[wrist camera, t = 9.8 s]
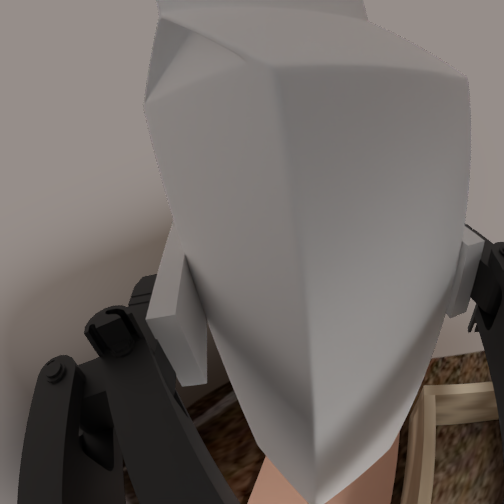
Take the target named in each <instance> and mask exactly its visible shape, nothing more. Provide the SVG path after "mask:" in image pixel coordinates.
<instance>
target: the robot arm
mask: <svg viewBox="0 0 504 504" xmlns="http://www.w3.org/2000/svg"><path fill="white" fill-rule="evenodd" d="M470 297H471V298H472V299H473V300H474V301H475V302H476V306H475V309H474V312H473V315H472V318H471V321H470V323H469V326H468V332H471V330H472V328H473V325H474V323H477V325H476V328H475V332H479V333H480V336H481V339H482V343H483V346H484V350H485V354H486V358H487V362H488V366H489V370H490V374H491V379H492V383H493V388H494V393H495V398H496V404H497V409H498V416H499V423H500V430H501V438H502V448H503V461H504V242H497V243H495V244H493V243H491V242H490V241H489V240H487V239H486V238H485V237H483V236H482V235H481V234H479V233H478V232H477V231H475V230H474V229H473V230H472V228H471V227H470V226H468V225H466V224H465V225H464V232H463V238H462V244H461V250H460V255H459V260H458V265H457V270H456V274H455V279H454V283H453V287H452V291H451V295H450V299H449V303H448V307H447V310H446V314H447V315H448V316H449V318H452V317H455V316H457V315H459V314H462V313H464V312H466V310H467V307H468V304H469V301H470ZM128 305H129V307H125V306H111V307H108V308H105V309H103V310H102V311H100V312H98V313H96V314H95V315H94V316H93V317H92V318H91V319H90V320H89V322H88V323H87V325H86V326H85V331H84V334H85V336H86V337H87V339H88V340H89V342H90V343H91V345H92V346H93V348H94V349H95V351H96V352H97V354H98V355H99V357H98V358H96V359H94V360H91V361H88V362H86V363H83V364H81V365H77V364H76V363H75V361H74V360H73V358H72V357H69V356H67V355H61V356H58V357H55V358H53V359H51V360H50V361H48V362H47V363H46V364H45V366H44V367H43V368H42V369H41V371H40V374H39V376H38V379H37V383H36V387H35V391H34V395H33V399H32V403H31V408H30V413H29V417H28V422H27V428H26V433H25V438H24V445H23V452H22V458H21V466H20V475H19V486H18V501H17V504H126V501H125V490H124V478H123V461H122V455H123V458H124V461H125V464H126V468H127V471H128V474H129V476H130V479H131V482H132V485H133V488H134V490H135V493H136V496H137V498H138V501H139V503H140V504H240V502H239V501H238V499H237V498H236V496H235V495H234V493H233V492H232V490H231V488H230V487H229V485H228V484H227V482H226V480H225V479H224V477H223V475H222V474H221V472H220V470H219V469H218V467H217V465H216V464H215V462H214V460H213V458H212V457H211V455H210V453H209V451H208V450H207V448H206V446H205V444H204V442H203V441H202V439H201V437H200V435H199V433H198V431H197V429H196V427H195V426H194V424H193V422H192V420H191V418H190V416H189V414H188V412H187V410H186V408H185V406H184V404H183V402H182V400H181V398H180V396H179V394H178V393H177V391H176V390H175V383H176V377H177V378H178V380H179V382H180V383H181V385H182V387H183V386H192V385H199V384H207V318H206V315H205V312H204V309H203V307H202V304H201V301H200V298H199V295H198V292H197V289H196V286H195V284H194V281H193V278H192V275H191V272H190V269H189V266H188V263H187V260H186V256H185V254H184V252H183V249H182V246H181V243H180V240H179V236H178V233H177V230H176V227H175V224H174V220H173V223H172V226H171V229H170V232H169V236H168V239H167V242H166V246H165V249H164V252H163V256H162V259H161V263H160V267H159V270H158V274H155V275H150V276H145V277H142V279H141V280H140V281H139V282H138V283H137V284H136V286H135V287H134V290H133V293H132V296H131V299H130V301H129V304H128ZM502 504H504V500H503V503H502Z"/></svg>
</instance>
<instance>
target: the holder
mask: <svg viewBox="0 0 504 504" xmlns="http://www.w3.org/2000/svg"><path fill="white" fill-rule="evenodd" d="M497 419H499V416H498V409H497V404H496V398H495V393H494V388H493V383H492V382H482V383H470V384H453V385H424V386H423V389H422V391H421V393H420V396H419V398H418V400H417V402H416V404H415V407H414V409H413V411H412V413H411V415H410V417H409V431H408V445H407V456H406V466H405V474H404V482H403V489H402V496H401V502H400V504H431V497H432V488H433V478H434V464H435V442H436V425H451V424H463V423H473V422H482V421H490V420H497Z"/></svg>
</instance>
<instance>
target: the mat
mask: <svg viewBox="0 0 504 504" xmlns="http://www.w3.org/2000/svg"><path fill="white" fill-rule="evenodd" d="M399 436H400V431H399V433H398V435H397V437H396V439H395V441H394V442H393V444H392V446H391V448H390V449H389V450H388V451H387V452H386V453H385V454H384V455H383V456H382V457H381V458H380V459H378V460H377V461H376V462H375V463H374V464H373V465H372V466H371V467H370V468H368V469H367V470H366V471H365V472H364V473H363V474H362V475H360V476H359V477H358V478H357V479H356V480H354V481H353V482H352V483H351V484H350V485H348V486H347V487H346V488H344V489H343V490H342V491H341V492H339V493H338V494H337V495H335V496H334V497H333V498H331V499H330V500H329V501H327V502H326V503H325V504H390V503H391V498H392V492H393V486H394V479H395V472H396V465H397V456H398V447H399ZM247 504H309V503H308V502H307V501H306V500H305V499H304V498H303V497H302V496H301V495H300V494H299V493H298V491H297V490H296V489H295V488H294V487H293V486H292V485H291V484H290V483H289V482H288V480H287V479H286V478H285V477H284V476H283V475H282V474H281V473H280V471H279V470H278V469H277V468H276V467H275V466H274V464H273V463H272V462H271V461H270V460H269V458H268V457H267V456H265V459H264V462H263V465H262V467H261V470H260V473H259V475H258V478H257V480H256V483H255V486H254V488H253V491H252V493H251V496H250V498H249V501H248V503H247Z"/></svg>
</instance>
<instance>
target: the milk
mask: <svg viewBox="0 0 504 504" xmlns="http://www.w3.org/2000/svg"><path fill="white" fill-rule="evenodd" d="M156 2H157V8H158V15H159V19H158V23H157V28H156V33H155V38H154V43H153V48H152V53H151V59H150V64H149V71H148V77H147V83H146V90H145V97H144V113H145V117H146V122H147V126H148V129H149V134H150V138H151V142H152V146H153V149H154V153H155V157H156V161H157V165H158V168H159V172H160V176H161V179H162V183H163V186H164V190H165V193H166V197H167V200H168V204H169V207H170V210H171V214H172V217H173V220H174V224H175V227H176V230H177V233H178V236H179V240H180V243H181V246H182V249H183V252H184V254H185V256H186V260H187V263H188V266H189V269H190V272H191V275H192V278H193V281H194V284H195V286H196V289H197V292H198V295H199V298H200V301H201V304H202V307H203V309H204V312H205V315H206V318H207V322H208V325H209V327H210V330H211V333H212V335H213V338H214V341H215V343H216V346H217V349H218V351H219V354H220V356H221V359H222V361H223V364H224V366H225V369H226V372H227V374H228V377H229V379H230V382H231V384H232V387H233V389H234V391H235V394H236V396H237V399H238V401H239V403H240V406H241V408H242V410H243V413H244V415H245V417H246V420H247V422H248V424H249V427H250V429H251V431H252V433H253V436H254V438H255V440H256V442H257V445H258V446H259V448H260V449H261V450H262V451H263V452H264V454H265V455H266V456H267V457H268V458H269V460H270V461H271V462H272V463H273V464H274V466H275V467H276V468H277V469H278V470H279V471H280V473H281V474H282V475H283V476H284V477H285V478H286V479H287V480H288V482H289V483H290V484H291V485H292V486H293V487H294V488H295V489H296V490H297V491H298V493H299V494H300V495H301V496H302V497H303V498H304V499H305V500H306V501H307V502H308V503H309V504H325V503H326V502H327V501H329V500H330V499H331V498H333V497H334V496H335V495H337V494H338V493H339V492H341V491H342V490H343V489H344V488H346V487H347V486H348V485H350V484H351V483H352V482H353V481H354V480H356V479H357V478H358V477H359V476H360V475H362V474H363V473H364V472H365V471H366V470H367V469H368V468H370V467H371V466H372V465H373V464H374V463H375V462H376V461H377V460H378V459H380V458H381V457H382V456H383V455H384V454H385V453H386V452H387V451H388V450H389V449H390V448H391V446H392V444H393V442H394V441H395V439H396V437H397V435H398V433H399V431H400V429H401V427H402V425H403V423H404V421H405V419H406V417H407V415H408V413H409V410H410V408H411V406H412V404H413V402H414V399H415V397H416V395H417V393H418V390H419V388H420V385H421V383H422V381H423V378H424V376H425V373H426V370H427V368H428V365H429V363H430V360H431V357H432V354H433V352H434V349H435V345H436V343H437V340H438V336H439V334H440V330H441V327H442V324H443V321H444V317H445V314H446V310H447V307H448V303H449V299H450V295H451V291H452V287H453V283H454V279H455V274H456V270H457V265H458V260H459V255H460V250H461V244H462V238H463V232H464V225H465V218H466V209H467V201H468V190H469V178H470V160H471V112H470V94H469V84H468V79H467V77H466V76H465V75H464V74H463V73H461V72H460V71H458V70H457V69H455V68H454V67H452V66H451V65H449V64H448V63H446V62H445V61H443V60H441V59H440V58H438V57H437V56H435V55H433V54H431V53H430V52H428V51H427V50H425V49H423V48H421V47H419V46H418V45H416V44H414V43H412V42H410V41H409V40H407V39H405V38H403V37H401V36H399V35H397V34H395V33H393V32H391V31H389V30H386V29H384V28H382V27H380V26H378V25H376V24H374V23H371V22H369V21H368V18H367V15H366V10H365V6H364V2H363V0H156Z"/></svg>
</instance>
